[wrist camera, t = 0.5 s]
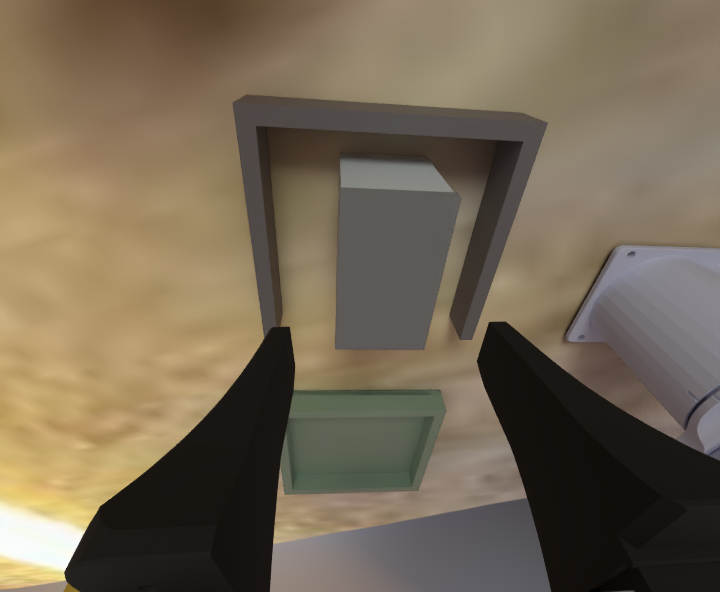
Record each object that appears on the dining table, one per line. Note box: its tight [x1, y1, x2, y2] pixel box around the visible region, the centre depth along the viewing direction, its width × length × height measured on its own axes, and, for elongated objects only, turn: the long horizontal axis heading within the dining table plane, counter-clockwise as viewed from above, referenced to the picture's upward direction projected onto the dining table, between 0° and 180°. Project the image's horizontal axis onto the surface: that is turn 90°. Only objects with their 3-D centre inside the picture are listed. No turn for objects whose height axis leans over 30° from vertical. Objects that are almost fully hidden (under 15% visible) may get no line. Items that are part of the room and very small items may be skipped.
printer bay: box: [233, 95, 548, 340], centre depth 19 cm, size 13×13×2 cm
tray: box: [280, 390, 446, 495], centre depth 32 cm, size 14×14×2 cm
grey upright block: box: [335, 153, 461, 350], centre depth 18 cm, size 5×8×6 cm, turn 176°
